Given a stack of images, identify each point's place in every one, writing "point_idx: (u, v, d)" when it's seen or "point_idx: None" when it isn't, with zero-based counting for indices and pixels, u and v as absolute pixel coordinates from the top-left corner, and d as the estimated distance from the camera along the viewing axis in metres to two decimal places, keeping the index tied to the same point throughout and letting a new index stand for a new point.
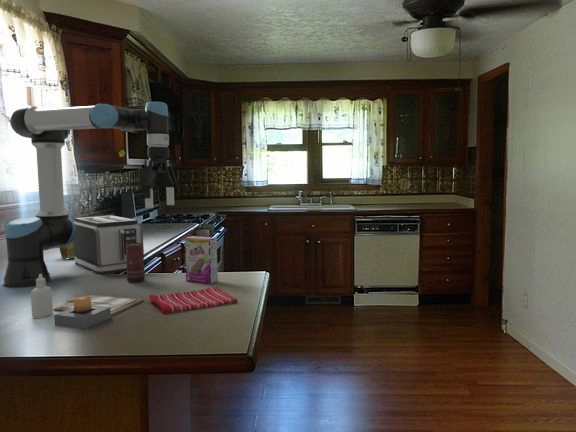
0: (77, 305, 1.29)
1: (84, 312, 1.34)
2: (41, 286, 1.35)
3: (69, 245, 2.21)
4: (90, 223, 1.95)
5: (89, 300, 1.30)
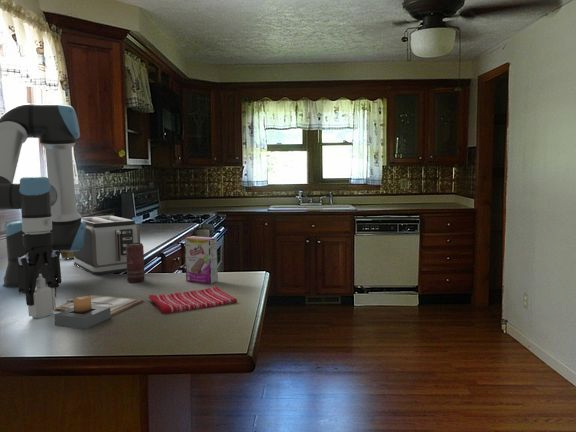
0: (77, 305, 1.29)
1: (84, 312, 1.34)
2: (41, 286, 1.35)
3: None
4: (87, 223, 1.95)
5: (89, 300, 1.30)
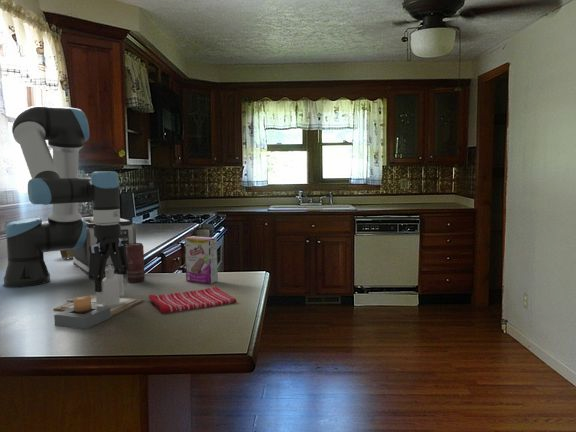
0: (77, 305, 1.29)
1: (84, 312, 1.34)
2: (110, 276, 1.44)
3: None
4: None
5: (89, 300, 1.30)
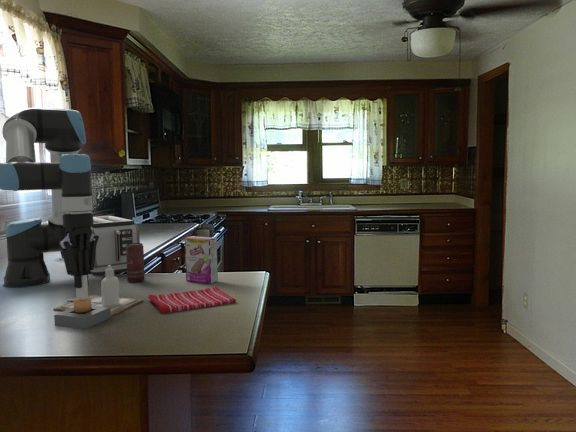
0: (77, 306, 1.29)
1: (84, 312, 1.34)
2: (110, 276, 1.44)
3: None
4: None
5: (89, 301, 1.30)
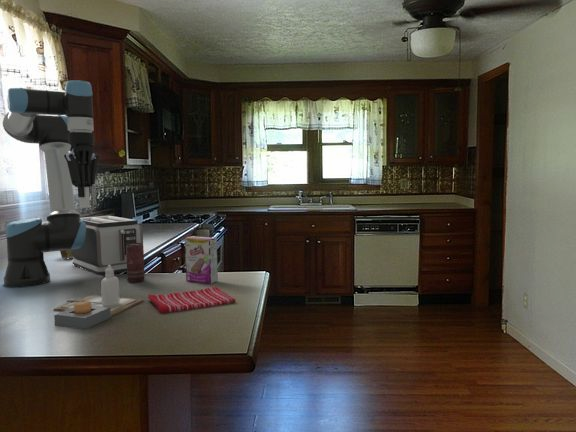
0: (77, 310, 1.29)
1: None
2: (110, 276, 1.43)
3: None
4: (90, 223, 1.95)
5: (89, 305, 1.31)
